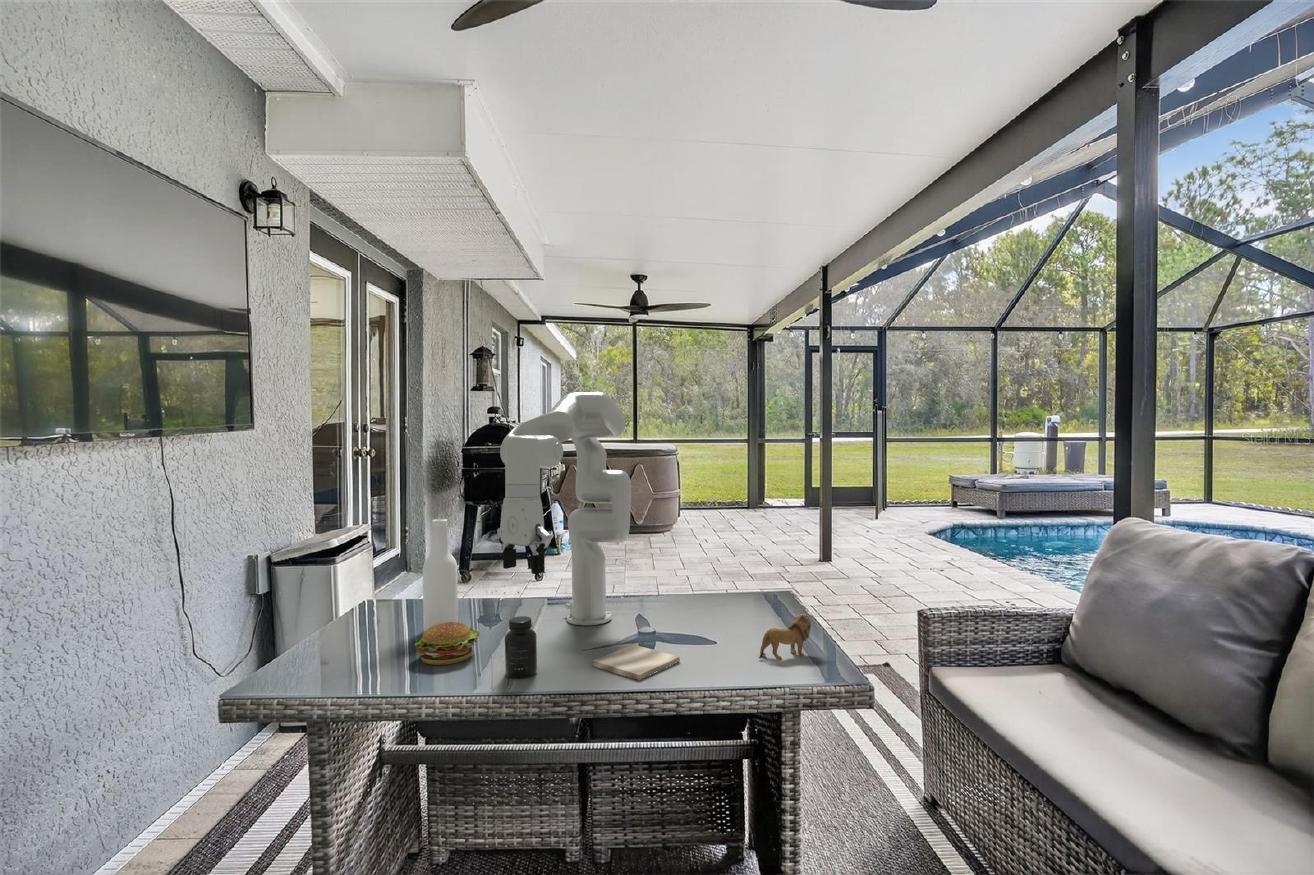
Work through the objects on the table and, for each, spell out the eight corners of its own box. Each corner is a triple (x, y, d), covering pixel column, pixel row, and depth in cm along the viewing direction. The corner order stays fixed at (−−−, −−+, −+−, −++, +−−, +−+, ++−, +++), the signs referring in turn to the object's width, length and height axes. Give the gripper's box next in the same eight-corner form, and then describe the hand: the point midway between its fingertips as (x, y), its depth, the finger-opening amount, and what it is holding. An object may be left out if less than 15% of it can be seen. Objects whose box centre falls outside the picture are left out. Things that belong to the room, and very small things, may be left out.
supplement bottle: (507, 668, 142) (507, 615, 142) (538, 667, 143) (538, 614, 143) (502, 680, 136) (502, 624, 136) (535, 679, 136) (534, 623, 136)
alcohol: (416, 634, 168) (414, 521, 168) (439, 624, 177) (438, 517, 177) (442, 637, 165) (441, 522, 165) (464, 628, 173) (463, 518, 173)
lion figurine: (802, 647, 155) (802, 610, 155) (817, 654, 150) (816, 616, 150) (752, 657, 148) (752, 618, 148) (766, 664, 143) (765, 624, 143)
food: (454, 671, 141) (454, 635, 141) (404, 664, 146) (404, 629, 146) (491, 651, 154) (491, 618, 154) (443, 645, 159) (443, 613, 159)
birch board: (592, 665, 143) (592, 660, 143) (634, 649, 154) (634, 644, 154) (639, 680, 134) (638, 675, 134) (679, 662, 145) (679, 657, 145)
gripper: (484, 491, 142) (485, 568, 142) (535, 495, 131) (535, 578, 131) (512, 489, 148) (512, 563, 148) (562, 492, 137) (563, 572, 137)
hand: (523, 570), depth 139 cm, fingers open, 9 cm apart
